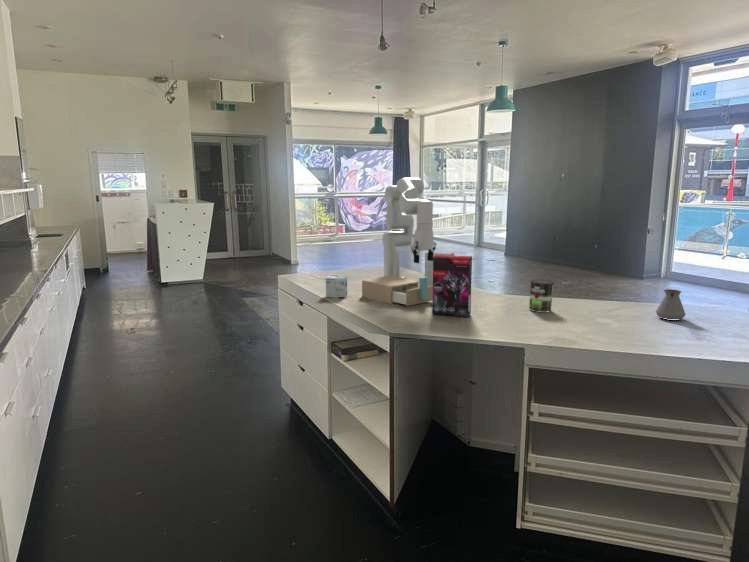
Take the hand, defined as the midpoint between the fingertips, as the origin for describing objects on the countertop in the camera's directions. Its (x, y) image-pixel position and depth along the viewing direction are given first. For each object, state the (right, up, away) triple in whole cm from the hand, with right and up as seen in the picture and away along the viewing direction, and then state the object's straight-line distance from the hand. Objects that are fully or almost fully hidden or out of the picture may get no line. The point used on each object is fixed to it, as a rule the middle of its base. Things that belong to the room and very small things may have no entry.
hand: (423, 261), depth 250 cm
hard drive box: (+14, -13, +49) cm, 53 cm away
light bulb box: (-44, -18, +23) cm, 52 cm away
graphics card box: (+11, -25, -13) cm, 31 cm away
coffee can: (+55, -24, -5) cm, 60 cm away
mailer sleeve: (-16, -18, +21) cm, 32 cm away
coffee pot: (+106, -27, -24) cm, 112 cm away
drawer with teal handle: (-7, -19, +12) cm, 23 cm away
